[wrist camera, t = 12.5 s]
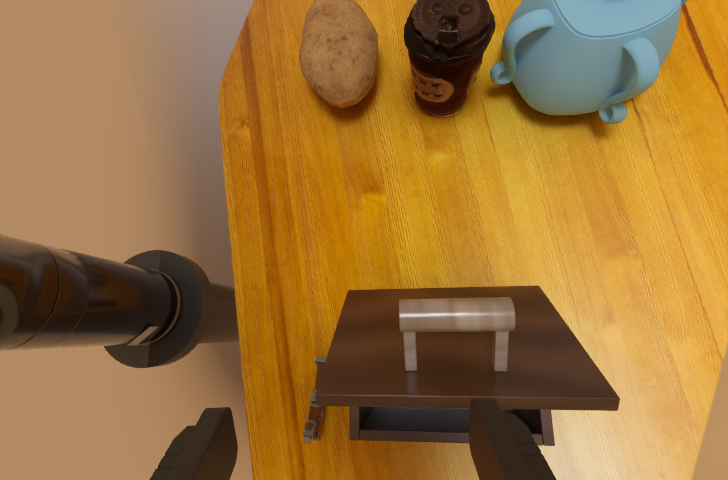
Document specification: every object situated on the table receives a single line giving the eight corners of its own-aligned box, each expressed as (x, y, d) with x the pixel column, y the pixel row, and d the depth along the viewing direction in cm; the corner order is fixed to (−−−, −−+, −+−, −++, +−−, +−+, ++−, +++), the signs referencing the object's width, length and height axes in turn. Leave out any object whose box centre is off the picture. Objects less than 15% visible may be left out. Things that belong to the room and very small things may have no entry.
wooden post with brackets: (306, 448, 39) (296, 440, 35) (321, 370, 44) (314, 356, 40) (323, 450, 39) (314, 442, 35) (336, 372, 43) (330, 358, 40)
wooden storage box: (520, 417, 38) (555, 445, 28) (365, 414, 40) (349, 440, 30) (509, 300, 40) (536, 290, 31) (364, 302, 43) (349, 294, 33)
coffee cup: (440, 141, 46) (449, 69, 33) (392, 100, 48) (383, 19, 35) (490, 93, 46) (517, 4, 34) (440, 55, 49) (449, -41, 36)
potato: (313, 132, 48) (294, 94, 41) (306, 41, 52) (286, -10, 44) (389, 119, 47) (383, 78, 40) (376, 27, 51) (369, -27, 43)
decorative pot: (540, -4, 49) (584, -128, 36) (665, 48, 45) (767, -70, 32) (470, 92, 47) (490, -1, 34) (594, 155, 43) (671, 78, 30)
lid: (618, 411, 19) (634, 321, 17) (316, 406, 21) (303, 325, 19) (538, 294, 31) (542, 233, 29) (349, 298, 33) (343, 241, 31)
